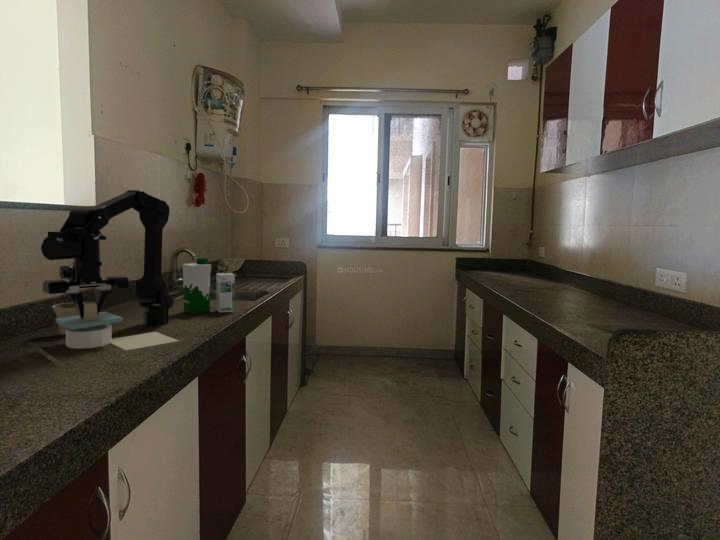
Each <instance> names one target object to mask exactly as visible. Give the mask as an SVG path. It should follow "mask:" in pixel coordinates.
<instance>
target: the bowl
mask: <svg viewBox="0 0 720 540" xmlns="http://www.w3.org/2000/svg"><path fill="white" fill-rule="evenodd" d="M112 330H113V329H112V325H111V324H110V323H109V324H103V325H97V326H91V327H85V328H79V329H73V330H71V329H68V328H67V329H65V332H66V334H65V346H66V347H67V348H69V349H81V350H82V349H92V348H94V349H95V348H101V347H104V346H107V345H110V344H111V343H110V342H111V341H112V339H113V337H112V335H113V334H112V332H113V331H112Z"/></svg>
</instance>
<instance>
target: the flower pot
mask: <svg viewBox="0 0 720 540" xmlns="http://www.w3.org/2000/svg"><path fill="white" fill-rule="evenodd" d="M83 303H86V302H84V301H83ZM52 309H53V311H54V313H55V314H56V319H58V318H65V317H72V316H79V313H78V311H77V309H76V307H75V304H74V302H73V301H72V302H65V303H63V302H62V303H57V304H54V305H52ZM57 324H58V323H57ZM57 327H58V330H59V335H66V332H65V329H67V328H66V327H64V326H62V325H60V324H58V326H57Z"/></svg>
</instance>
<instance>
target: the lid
mask: <svg viewBox="0 0 720 540" xmlns="http://www.w3.org/2000/svg"><path fill="white" fill-rule="evenodd" d="M83 308H84V315H83V318H80V316H72V317H65V318H58V319H57V318H55V323H56V324H60V325H62V326H64V327H66V328H68V329H71V330H73V329H79V328H85V327H91V326H97V325H103V324H109V325H110V324H115V323H120V322H123V321H124V318H123V317H122V316H119V315H116V314H114V313H110V312H107V311H100V312H99V314H98V315H97V303H95V301H88V302H85V303H83Z"/></svg>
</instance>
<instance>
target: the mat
mask: <svg viewBox="0 0 720 540" xmlns="http://www.w3.org/2000/svg"><path fill="white" fill-rule="evenodd" d="M179 341H180V340H178V339H176V338H173V337H171V336H167V335H165V334H162V333H160V332H157V331H151V332H147V333H140V334H132V335H126V336H120V337H114V338H113V337H112V341H111V342H110V344H112V345H114V346H116V347H117V348H120V349H122V350H124V351H131V350H137V349H143V348H148V347H153V346H159V345H164V344H170V343H176V342H179Z"/></svg>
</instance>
